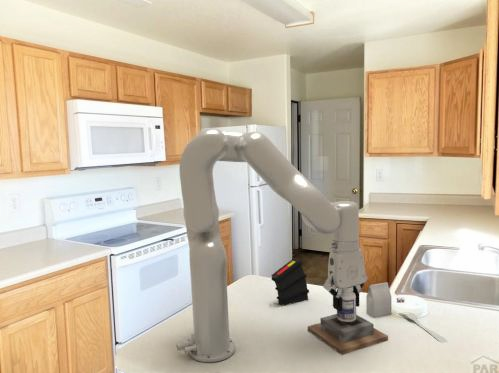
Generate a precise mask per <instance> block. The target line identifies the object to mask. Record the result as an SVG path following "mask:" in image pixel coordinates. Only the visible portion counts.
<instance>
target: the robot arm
mask: <svg viewBox="0 0 499 373" xmlns="http://www.w3.org/2000/svg"><path fill="white" fill-rule="evenodd" d="M217 162H231V163H232V162H233V163H247V165H248V166H249V167H250V168H252V170H254V172H255V173H256V174H257V175H258V176H259V177H260V178H261V179H262V180H263V181H264V182H265V184H267V186H268V187H269V188H270V189H271V190H272V191H273V192H275V194H276V195H278V196H279V197H281V198H282V199H283V200H285V201H287V202H288V203H289V204H290V205H291V206H293V207H294V208H295V209H296V210H297V211H298V212H299V213H300V214H301V220H302V221H303V222H304V223H305V226H308V227H309V228H311V229H313V230H315V231H316V232H317V233H319V234H322V235H330V234H331V243H329V244H328V248H329V249H331V250H330V252H329V257H328V264H327V279H326V281H324V283H323V285H322V286H323V289H325V290H326V291H327V292H328V293H329V294H330V295H331V296H332V305H333V309H334V310H335V311H337V310H338V311H342V298H341V297H340V295H341V291H342V289H343V288H348V287H352V286H353V292H354V293H355V295H356V308H358V307H360V293H361V292H362V288H363V287H364V285H365V283H366V282H367V280H369V277H368V276H367V274H366V268H365V267H366V266H365V260H364V254H363V250H362V249H361V248H360V226H359V225H360V224H359V223H360V222H359V219H360V218H359V214H360V213H359V209H360V208H359V205H358V203H357V202H355V201H352V200H349V201H348V200H340V201H334V202H330V200H328V199H327V198H326V196H325V195H324V194H323V193H322V192H321V191H320V190H319V189H318V188H317V187H316V186H315V185H314V184H313V183H311V182H310V181H309V180H308V179H307V177H306V176H304V175H303V174H302V172H300V171H299V170H298V169H297V168H296V167H295V166H294V165H293V164H292V162H291V161H290V160H288V158H287V157H286V156H285V155H284V154H283V153H282V152H281V151H280V149H279V148H278V147H277V146H276V145H275V144H274V143H273V142H272V141H271V140H270V139H269V137H267V136H266V134H264V133H262V132H259V131H250V132H232V131H222V130H220V129H217V128H213V127H211V128H207V129H204V130H201V132H199V133H198V134H196V135H195V136H194V137H192V139H191V140H190V141H189V142H188V143H187V144H186V146H185V147H184V149H183V151H182V154H181V157H180V160H179V170H178V171H179V181H180V182H179V183H180V189H181V190H180V191H181V197H182V202H183V203H182V205H183V218H184V222H185V228H186V235H187V240H188V246H189V247H188V248H189V249H188V250H189V253H188V254H189V256H188V257H189V271H190V286H191V289H190V290H191V304H192V306H191V307H192V319H193V320H192V322H193V324H192V325H193V333H192V334H191V335H190V338H188V339H187V340H185V341H179V342H176V349H177V351H182V350H183V351H184V353H189V356H190V357H191V358H192V359H194V360H195V361H199V362H202V363H215V362H220V361H224V360H226V359H228V358H230V357H231V356H233V354H234V353H235V352H236V343H235V341H234V340H233V339H231V337H230V324H229V303H228V297H229V296H228V279H227V277H228V276H227V275H228V274H227V272H228V258H227V257H228V256H227V252H226V249H225V247H226V246H224V243H223V240H222V236H221V229H220V228H221V227H220V221H219V220H220V218H219V217H220V211H219V207H218V204H217V199H216V192H215V185H214V177H213V176H214V175H213V173H214V172H213V171H214V168H215V167H214V166H215V165H216V163H217Z"/></svg>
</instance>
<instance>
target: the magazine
mask: <svg viewBox="0 0 499 373" xmlns="http://www.w3.org/2000/svg"><path fill="white" fill-rule="evenodd" d="M302 265H303V263H302V262H301V261H300V259H297V258H295V257H293V258H292V259H291V260H289V261H288V262H286V264H284V265H283V266H281V267H280V268H279V269H278V270H277V271H275V272H274V273H273V274H271V275H270V276H271V281H273V282H274V284H275V289H274V290H276V291H277V296H276V300H277V301H278V304H279V305H281V306H286V305H290V304H294V303H298V302H299V303H300V302H303V301H306V300H308V297H309V295H308V294H310V289H308V284H307V279H306V278H307V277H308V276H307V274H306V273H305V272H304V269H303V266H302Z"/></svg>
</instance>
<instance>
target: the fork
mask: <svg viewBox="0 0 499 373" xmlns="http://www.w3.org/2000/svg"><path fill="white" fill-rule="evenodd" d="M408 313H409V314H404V315H405V316H406V317H408V318H409V319H410V320H412V321H413V322H415V324H416V325H418V326H419V327H420V328H422V329H424V330H425V331H426V332H427V333H429V334H430V335H431V336H432V337H434V339H436V340H437V342H439V343H440V344H442V343H443V344H445V343H448V342H449V340H448V339H446V338H445V337H444V336H442V335H440V334H439V333H437V332H435V331H433V330H431V329H430V328H427V327H426V326H424V325H423V324H421V323H420V322H419V321H418V316H417V315H416V314H415V313H413V312H408Z"/></svg>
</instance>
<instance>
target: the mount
mask: <svg viewBox="0 0 499 373" xmlns="http://www.w3.org/2000/svg"><path fill="white" fill-rule="evenodd" d="M307 331H308V332H309V333H311V334H312V335H314V336H315V337H317V338H318V339H319V340H321V341H322V342H323V343H325V344H326V345H328V346H329V347H330V348H332V349H334V350H335V351H336V352H337V353H339V354H341V355H342V356H343V355H346V354H349V353H352V352H355V351H358V350H361V349H364V348H367V347H371V346H374V345H376V344H377V345H378V344H379V343H384V342H386V341H388V340H389V336H388V335H387V334H385V333H383V332H382V331H380V330H379V329H376V328H375V327H374V323H372V322H371V321H369V320H367V319H365V318H363V317H361V316H360V315H358V314H356V320H354V321H352V322H344V321H340V320H339V319H338V318H337V313H335V314H331V315H328V316H324V317H320V322H318V323H314V324H311V325H308V326H307Z"/></svg>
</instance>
